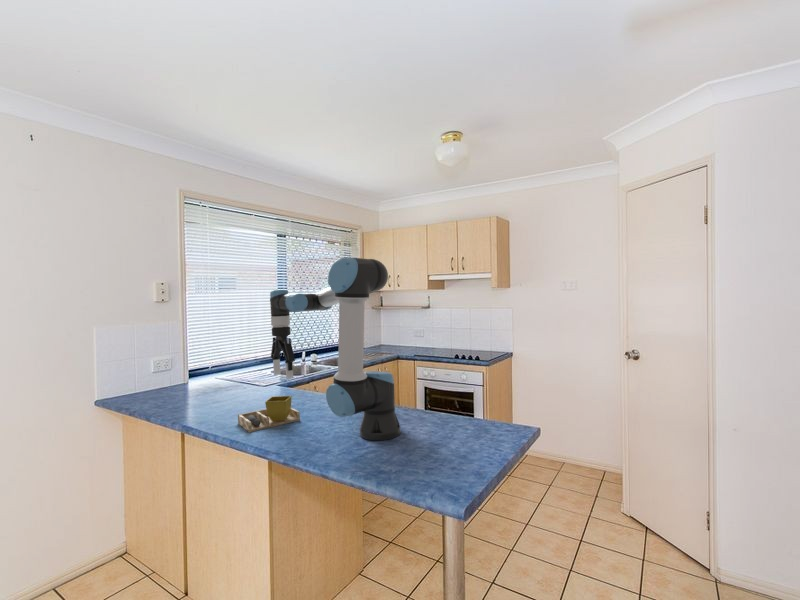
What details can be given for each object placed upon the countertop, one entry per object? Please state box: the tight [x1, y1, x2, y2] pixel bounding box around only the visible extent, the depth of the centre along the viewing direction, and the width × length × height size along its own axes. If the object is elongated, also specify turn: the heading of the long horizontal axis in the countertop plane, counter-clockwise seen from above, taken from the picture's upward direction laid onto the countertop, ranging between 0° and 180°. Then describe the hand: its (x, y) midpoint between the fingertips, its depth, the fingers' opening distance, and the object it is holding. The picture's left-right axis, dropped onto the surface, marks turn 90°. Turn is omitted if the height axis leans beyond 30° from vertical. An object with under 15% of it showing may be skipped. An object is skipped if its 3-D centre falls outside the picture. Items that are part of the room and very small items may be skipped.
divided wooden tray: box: [237, 407, 301, 433], centre depth 168 cm, size 15×21×4 cm
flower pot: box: [264, 395, 293, 421], centre depth 168 cm, size 9×9×9 cm
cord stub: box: [247, 415, 260, 426], centre depth 163 cm, size 11×3×3 cm, turn 38°
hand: (283, 376), depth 168 cm, fingers open, 13 cm apart
